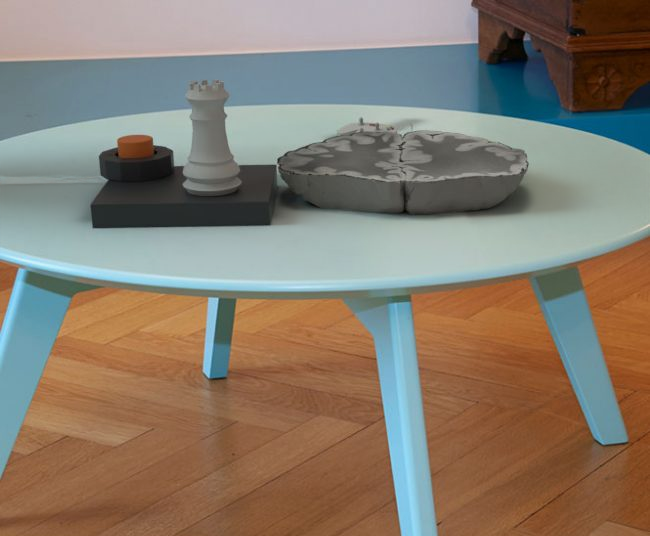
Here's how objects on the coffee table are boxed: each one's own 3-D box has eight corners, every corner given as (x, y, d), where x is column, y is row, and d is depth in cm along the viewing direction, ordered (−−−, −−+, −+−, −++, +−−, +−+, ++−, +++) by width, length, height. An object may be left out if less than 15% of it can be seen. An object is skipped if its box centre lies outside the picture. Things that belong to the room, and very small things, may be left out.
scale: (81, 229, 83) (76, 183, 82) (111, 187, 94) (107, 145, 93) (270, 226, 83) (268, 179, 81) (277, 184, 94) (276, 142, 92)
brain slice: (514, 163, 99) (516, 129, 97) (535, 220, 83) (537, 180, 82) (290, 164, 100) (289, 130, 99) (268, 220, 84) (267, 181, 83)
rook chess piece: (210, 200, 82) (204, 90, 79) (170, 190, 85) (162, 83, 82) (254, 188, 85) (249, 81, 82) (214, 178, 88) (208, 75, 85)
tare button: (115, 162, 89) (114, 142, 88) (122, 153, 91) (120, 134, 91) (151, 161, 89) (149, 142, 88) (156, 153, 91) (155, 134, 91)
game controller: (330, 154, 103) (329, 125, 102) (356, 128, 113) (356, 102, 112) (391, 156, 102) (391, 127, 101) (412, 129, 112) (412, 103, 111)
